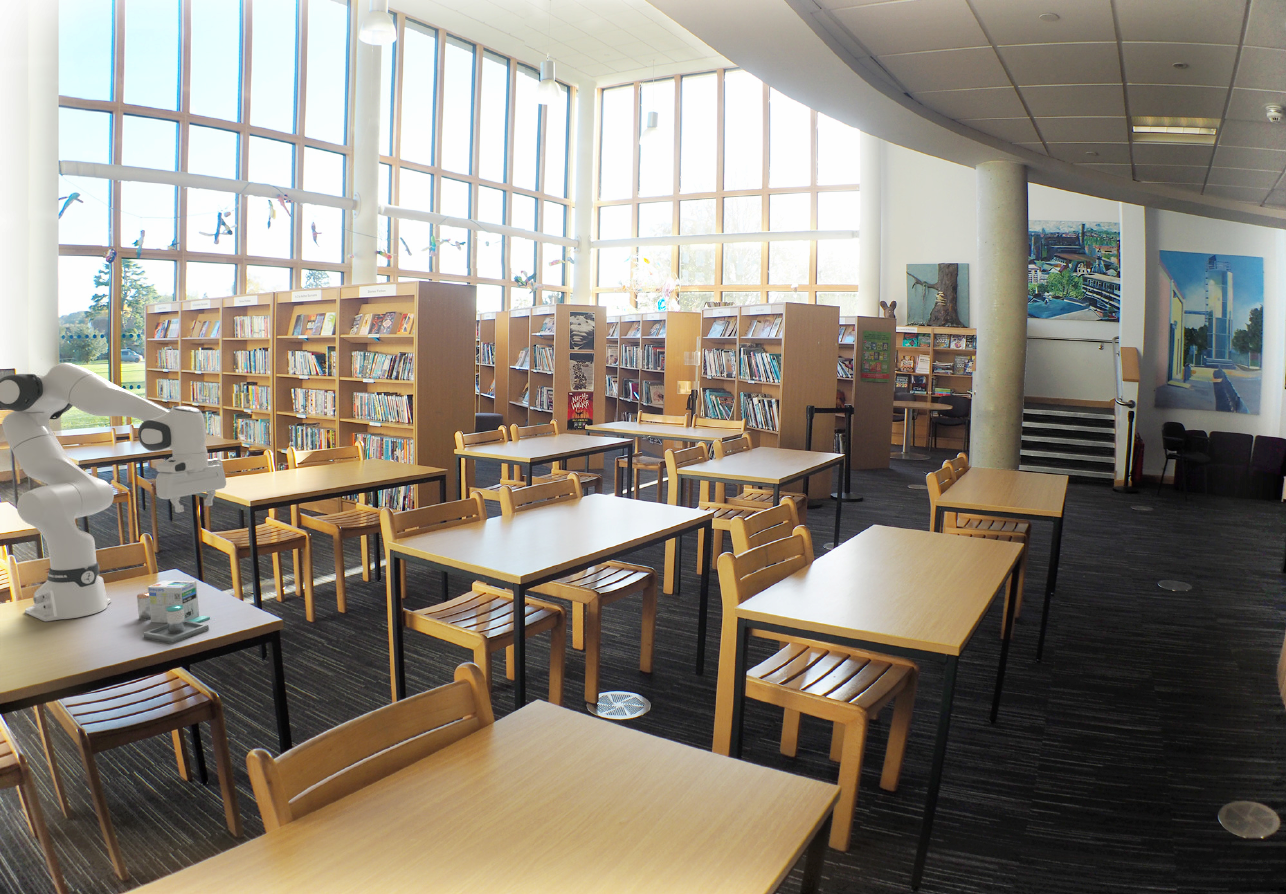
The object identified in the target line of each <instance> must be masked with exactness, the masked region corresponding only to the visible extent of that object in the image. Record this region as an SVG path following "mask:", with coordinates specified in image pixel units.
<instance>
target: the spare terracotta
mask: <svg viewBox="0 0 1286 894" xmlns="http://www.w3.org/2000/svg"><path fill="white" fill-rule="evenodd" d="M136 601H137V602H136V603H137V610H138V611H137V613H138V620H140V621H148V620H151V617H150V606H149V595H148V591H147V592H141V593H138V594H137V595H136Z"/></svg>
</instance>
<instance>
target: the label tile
mask: <svg viewBox="0 0 1286 894" xmlns="http://www.w3.org/2000/svg"><path fill="white" fill-rule="evenodd" d="M210 619H211V617H210V616H208V615H199V616H198V617H196V618H194V619H191V620H188V621H191V622H197V623H202V622H205V621H208V620H210Z"/></svg>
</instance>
